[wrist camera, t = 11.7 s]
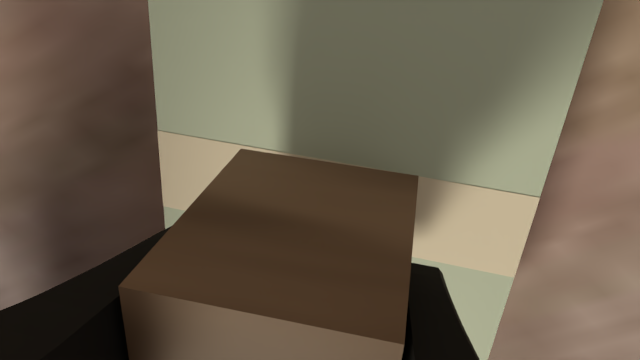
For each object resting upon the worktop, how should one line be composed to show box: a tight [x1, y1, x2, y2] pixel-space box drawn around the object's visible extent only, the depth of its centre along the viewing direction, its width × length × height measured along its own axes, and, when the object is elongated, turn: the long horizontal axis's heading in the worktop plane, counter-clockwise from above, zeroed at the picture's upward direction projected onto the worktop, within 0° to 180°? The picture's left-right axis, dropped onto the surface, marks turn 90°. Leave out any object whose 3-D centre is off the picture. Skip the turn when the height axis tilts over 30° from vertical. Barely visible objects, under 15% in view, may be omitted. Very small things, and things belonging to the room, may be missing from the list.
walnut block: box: [118, 149, 419, 360], centre depth 10 cm, size 4×4×5 cm
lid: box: [148, 0, 604, 360], centre depth 14 cm, size 14×10×1 cm
